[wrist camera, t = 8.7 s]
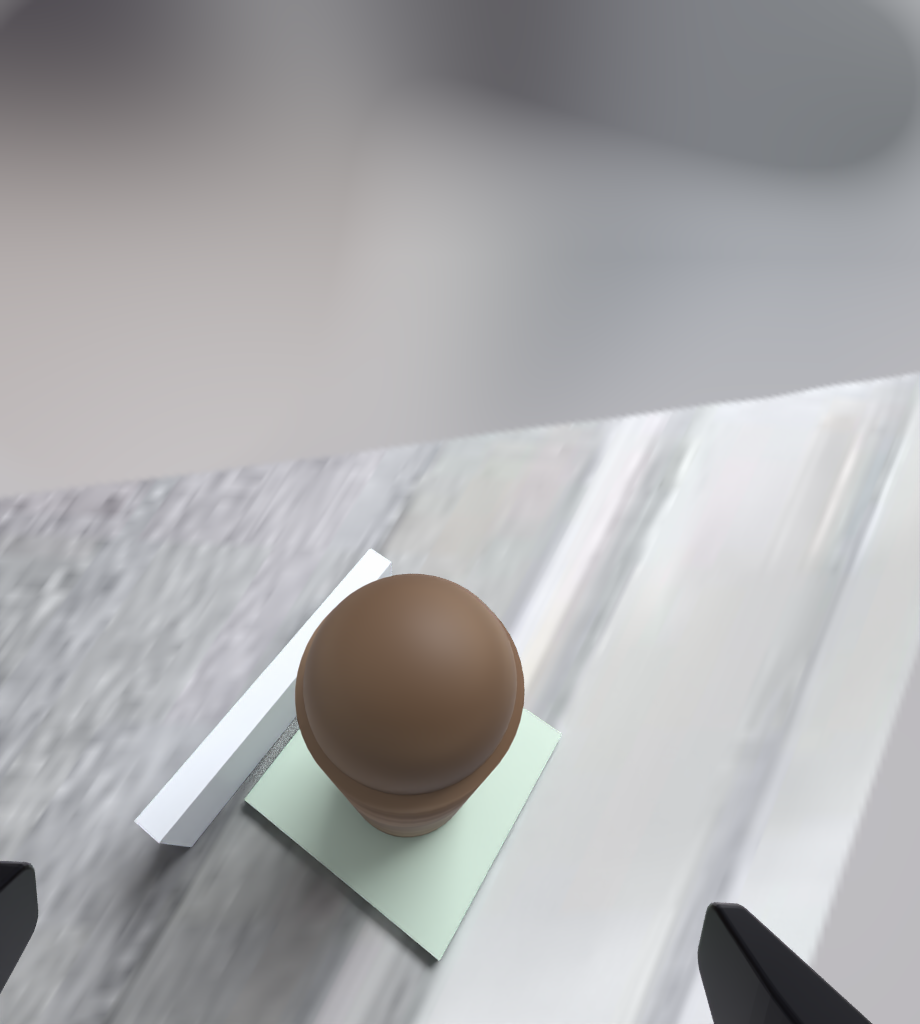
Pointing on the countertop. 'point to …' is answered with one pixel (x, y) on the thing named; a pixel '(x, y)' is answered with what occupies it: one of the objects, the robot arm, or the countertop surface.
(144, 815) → the rail
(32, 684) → the countertop surface
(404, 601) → the pepper mill
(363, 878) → the coaster
